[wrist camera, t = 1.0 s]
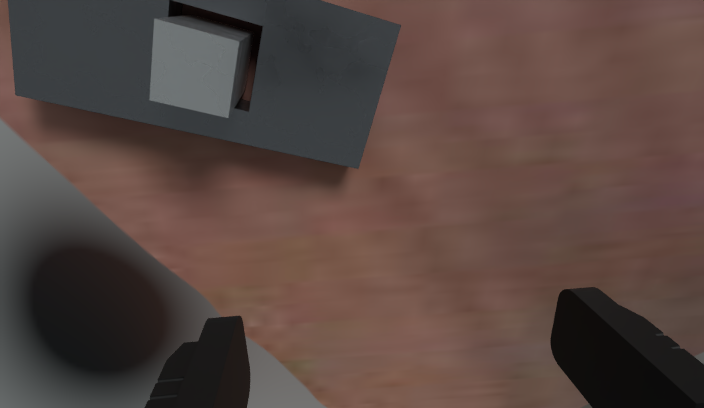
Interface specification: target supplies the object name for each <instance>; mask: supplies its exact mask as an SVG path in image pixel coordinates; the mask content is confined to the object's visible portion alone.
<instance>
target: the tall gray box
mask: <svg viewBox="0 0 704 408" xmlns="http://www.w3.org/2000/svg"><path fill="white" fill-rule="evenodd" d="M253 37H254V32H253V31H249V30H246V29H242V28H239V27H235V26H231V25H228V24H224V23H221V22H217V21H214V20H210V19H206V18H203V17H199V16H196V15H185V16H175V17H164V18H154V31H153V48H152V65H151V82H150V99H149V100H151V101H155V102H159V103H164V104H168V105H173V106H177V107H181V108H186V109H190V110H195V111H199V112H203V113H208V114H212V115H217V116H221V117H225V118H229V116H230V114H231V113H232V111H233V110H234V108H235V106H236V105H237V103H238V101H239V100H240V98H241V96H242V95H243V93H244V91H245V88H246V82H247V75H248V69H249V63H250V56H251V50H252V44H253Z"/></svg>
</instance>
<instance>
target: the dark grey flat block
mask: <svg viewBox="0 0 704 408" xmlns="http://www.w3.org/2000/svg"><path fill="white" fill-rule="evenodd" d="M182 3H183V4H187V5H190V6H194V7H197V8H201V9H205V10H208V11H212V12H215V13H219V14H222V15H226V16H229V17H233V18H236V19H240V20H243V21H247V22H250V23H254V24H257V25H261V26H263V29H262V36H261V42H260V48H259V54H258V60H257V66H256V72H255V78H254V84H253V90H252V96H251V101H247V100H243V99H240V100H239V101H238V103H237V105H236V106H235V108H234V110H233V111H232V113H231V114H230V116H229V118H225V117H221V116H217V115H212V114H208V113H203V112H199V111H195V110H190V109H186V108H181V107H177V106H173V105H168V104H164V103H159V102H155V101H151V100H149V99H150V82H151V65H152V48H153V31H154V18H164V17H175V16H181V13H182ZM8 8H9V20H10V32H11V45H12V57H13V70H14V82H15V95H17V96H22V97H26V98H31V99H36V100H40V101H45V102H50V103H54V104H59V105H64V106H68V107H73V108H78V109H82V110H87V111H92V112H96V113H101V114H106V115H110V116H115V117H120V118H124V119H129V120H133V121H138V122H143V123H147V124H152V125H157V126H161V127H166V128H171V129H175V130H180V131H185V132H189V133H194V134H199V135H203V136H208V137H213V138H217V139H222V140H227V141H231V142H236V143H240V144H245V145H250V146H254V147H259V148H264V149H268V150H273V151H278V152H282V153H287V154H292V155H296V156H301V157H306V158H310V159H315V160H320V161H324V162H329V163H333V164H338V165H343V166H347V167H352V168H357V169H358V168H359V165H360V162H361V158H362V155H363V151H364V148H365V145H366V141H367V138H368V135H369V131H370V128H371V125H372V121H373V118H374V114H375V111H376V108H377V104H378V101H379V98H380V94H381V91H382V88H383V84H384V81H385V77H386V74H387V71H388V67H389V64H390V61H391V57H392V54H393V51H394V47H395V44H396V40H397V37H398V34H399V30H400V27H401V25H399V24H395V23H392V22H389V21H386V20H382V19H379V18H376V17H373V16H369V15H366V14H363V13H360V12H357V11H353V10H350V9H347V8H344V7H340V6H337V5H334V4H331V3H327V2H324V1H321V0H8Z"/></svg>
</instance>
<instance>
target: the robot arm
mask: <svg viewBox="0 0 704 408" xmlns="http://www.w3.org/2000/svg"><path fill="white" fill-rule="evenodd" d="M551 350H552V353H553V356H554V358H555V360H556V362H557V364H558V365H559V366H560V368H561V369H562V370H563V371H564V373H565V374H566V375H567V376H568V378H569V379H570V380H571V381H572V383H573V384H574V385H575V386H576V388H577V389H578V390H579V391H580V393H581V394H582V395H583V396H584V398H585V399H586V400H587V401H588V403H589V404H590V405H591V406H592V408H704V364H702V363H701V362H700V361H699V360H697V359H696V358H695V357H694V356H692V355H691V354H690V353H688V352H687V351H686V350H685V349H680V347H679V345H678V344H677V343H676V342H674V341H673V340H672V339H671V338H669V337H668V336H664V335H663V332H662V331H661V330H659V329H658V328H657V327H655V326H654V325H653V324H652V323H650V322H649V321H648V320H647V319H645V318H644V317H642V316H640V315H638V314H636V313H634V312H632V311H630V310H628V309H626V308H624V307H622V306H620V305H618V304H617V303H616V302H614V301H613V300H612V299H611V298H609V297H608V296H607V295H606V294H604V293H603V292H602V291H601V290H599V289H598V288H595V287H588V288H576V289H565V290H563V291H561V293H560V294H559V297H558V302H557V307H556V312H555V318H554V323H553V328H552V334H551ZM249 391H250V366H249V360H248V353H247V346H246V339H245V333H244V326H243V321H242V318H241V316H231V317H219V318H208V319H207V321H206V323H205V325H204V328H203V330H202V333H201V336H200V338H199V341H198V342H187V343H183V344H182V345H181V346H180V347H179V348H178V349H177V350H176V351H175V352H174V353H173V354H172V355H171V356H170V357H169V358H168V360H167V361H166V363H165V365H164V367H163V369H162V372H161V374H160V376H159V378H158V383H156V384H155V387H154V389H153V391H152V393H151V395H150V400H149V401H148V402H147V404H146V406H145V408H247V404H248V398H249Z"/></svg>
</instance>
